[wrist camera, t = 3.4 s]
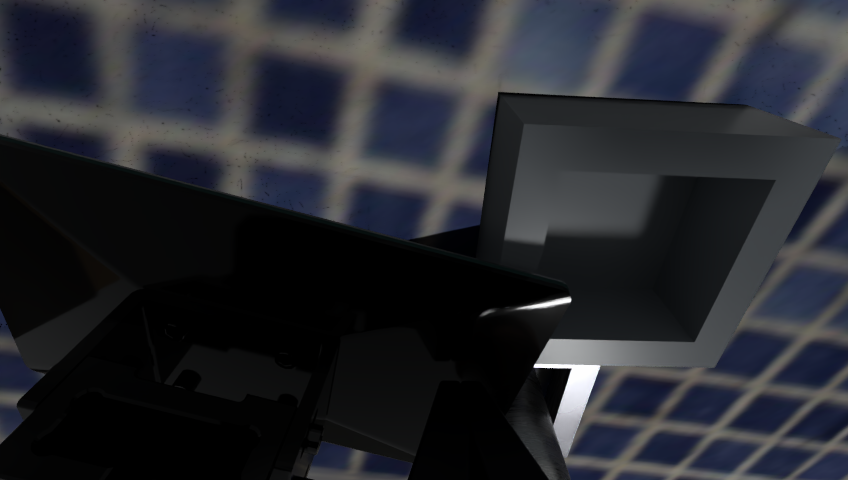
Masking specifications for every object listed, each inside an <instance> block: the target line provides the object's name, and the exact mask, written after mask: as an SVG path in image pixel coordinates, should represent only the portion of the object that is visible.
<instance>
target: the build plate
mask: <svg viewBox="0 0 848 480" xmlns="http://www.w3.org/2000/svg"><path fill="white" fill-rule="evenodd" d="M570 303H571V296H570V291H569V288H568V286H567V284H566V283H565V282H563V281H561V280H557V279H554V278H550V277H546V276H542V275H538V274H534V273H531V272H527V271H523V270H519V269H515V268H511V267H507V266H504V265H500V264H496V263H492V262H488V261H484V260H481V259H477V258H473V257H469V256H465V255H461V254H458V253H454V252H450V251H446V250H442V249H438V248H435V247H431V246H427V245H423V244H419V243H415V242H412V241H408V240H404V239H400V238H396V237H392V236H389V235H385V234H381V233H377V232H373V231H369V230H366V229H362V228H358V227H354V226H350V225H346V224H343V223H339V222H335V221H331V220H327V219H323V218H320V217H316V216H312V215H308V214H304V213H300V212H297V211H293V210H289V209H285V208H281V207H277V206H274V205H270V204H266V203H262V202H258V201H254V200H251V199H247V198H243V197H239V196H235V195H231V194H228V193H224V192H220V191H216V190H212V189H208V188H205V187H201V186H197V185H193V184H189V183H185V182H182V181H178V180H174V179H170V178H166V177H162V176H158V175H155V174H151V173H147V172H143V171H139V170H135V169H132V168H128V167H124V166H120V165H116V164H112V163H109V162H105V161H101V160H97V159H93V158H89V157H86V156H82V155H78V154H74V153H70V152H66V151H63V150H59V149H55V148H51V147H47V146H43V145H40V144H36V143H32V142H28V141H24V140H20V139H17V138H13V137H9V136H5V135H1V134H0V309H1V311H2V313H3V316H4V318H5V320H6V322H7V325H8V327H9V329H10V331H11V334H12V336H13V338H14V340H15V343H16V345H17V347H18V349H19V352H20V354H21V356H22V358H23V361H24V363H25V365H26V366H27V367H28V368H30V369H31V370H33V371H36V372H40V373H44V374H46V375H45V376H44V377H43V378H42V379H40V380H39V381H38V382H37V383H36V384H35V385H34V386H33V387H32V388H31V389H30V390H29V391H28V392H27V393H26V394H25V395H24V396H23V397H22V398H21V399H20V400H19V401H18V403H17V408H18V410H19V412H20V414H21V416H22V418H23V420H24V421H23V422H22V423H21V424H20V425H19V426H18V427H17V428H16V429H15V430H14V431H13V432H12V433H11V434H10V435H9V436H8V437H7V438H6V439H5V440H4V441H3V442H2V443H1V444H0V480H313V479H308V478H307V476H308V473H309V470H310V467H311V464H312V461H313V458H314V455H317V453H318V450H319V448H320V444H321V441H324V442H328V443H332V444H336V445H340V446H344V447H348V448H352V449H356V450H361V451H365V452H369V453H373V454H377V455H381V456H385V457H389V458H393V459H397V460H402V461H406V462H410V463H413V462H414V459H415V456H416V453H417V450H418V447H419V444H420V441H421V438H422V435H423V432H424V429H425V426H426V422H427V419H428V416H429V413H430V410H431V407H432V404H433V401H434V398H435V395H436V392H437V389H438V386H439V383H440V382H441V381H443V380H446V381H459V382H460V383H461V382H462V381H479V382H481V383H482V384H483V385H484V387H485V388H486V390H487V391H488V392H489V394H490V395H491V397H492V398H493V400H494V401H495V403H496V404H497V405H498V407H499V408H500V410H501V411H502V413H503V414H504V415H506V414H507V412H508V410H509V409H510V407H511V405H512V403H513V402H514V400H515V398H516V396H517V395H518V393H519V391H520V389H521V388H522V386H523V384H524V383H525V381H526V379H527V377H528V376H529V374H530V372H531V370H532V369H533V367H534V365H535V364H536V362H537V360H538V358H539V357H540V355H541V353H542V351H543V350H544V348H545V346H546V345H547V343H548V341H549V339H550V338H551V336H552V334H553V332H554V331H555V329H556V327H557V326H558V324H559V322H560V320H561V319H562V317H563V315H564V313H565V312H566V310H567V308H568V306H569V305H570Z"/></svg>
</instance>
